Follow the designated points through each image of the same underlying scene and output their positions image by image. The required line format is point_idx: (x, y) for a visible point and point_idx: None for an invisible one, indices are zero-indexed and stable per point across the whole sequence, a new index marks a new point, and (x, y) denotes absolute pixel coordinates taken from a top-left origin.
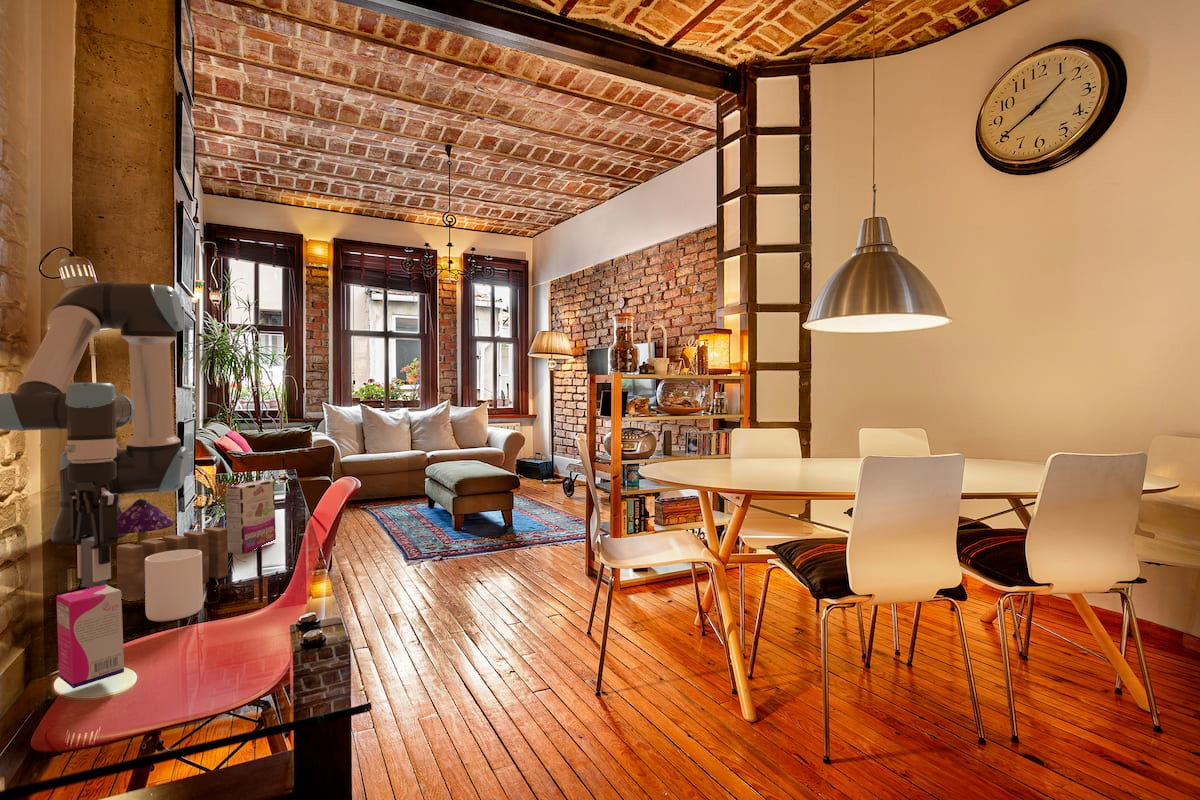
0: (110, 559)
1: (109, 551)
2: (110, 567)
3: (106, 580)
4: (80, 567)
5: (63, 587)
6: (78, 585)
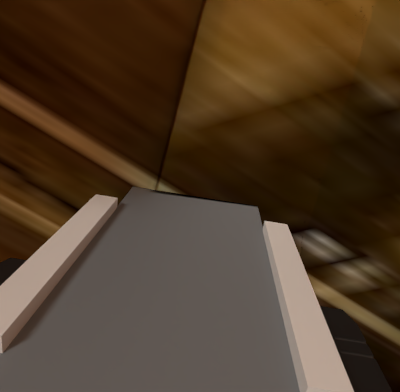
0: (313, 292)
1: (386, 390)
2: (300, 259)
3: (262, 228)
4: None
5: (19, 235)
6: (46, 197)
